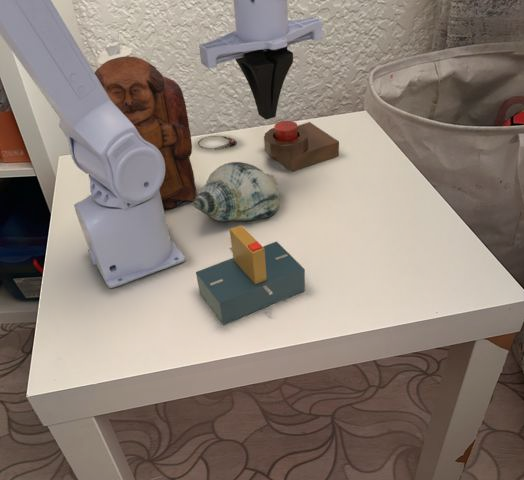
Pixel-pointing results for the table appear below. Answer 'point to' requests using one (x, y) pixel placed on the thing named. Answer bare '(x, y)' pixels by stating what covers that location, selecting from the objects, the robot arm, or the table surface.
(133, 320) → the table surface
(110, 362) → the table surface
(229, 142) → the necklace
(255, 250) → the tap handle
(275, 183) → the seashell
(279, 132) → the button
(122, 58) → the wooden figurine
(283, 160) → the button block
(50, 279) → the table surface
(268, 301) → the plate
